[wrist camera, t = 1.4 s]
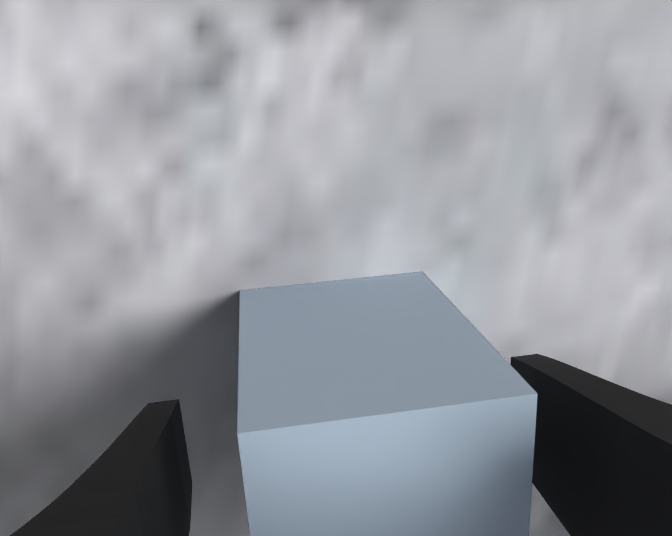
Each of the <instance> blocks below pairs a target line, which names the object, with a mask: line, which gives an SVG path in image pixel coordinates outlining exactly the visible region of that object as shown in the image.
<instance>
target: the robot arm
mask: <svg viewBox="0 0 672 536" xmlns="http://www.w3.org/2000/svg"><path fill="white" fill-rule="evenodd" d="M511 366H512V367H513V368H514V369H515V370H516V371H517V372H518V373H519V374H520V376H521V377H522V378H523V379H524V380H525V381H526V382H527V383H528V384H529V385H530V386H531V387H532V388H533V389H534V390H535V391H536V393H537V394H538V395H537V411H536V427H535V443H534V459H533V475H532V483H533V484H534V485H535V487H536V488H537V490H538V491H539V493H540V494H541V495H542V497H543V498H544V500H545V501H546V502H547V504H548V505H549V507H550V508H551V509H552V511H553V512H554V513H555V515H556V516H557V518H558V519H559V520H560V522H561V523H562V524H563V526H564V527H565V529H566V530H567V531H568V533H569V534H570V535H571V536H672V405H670V404H668V403H665V402H662V401H659V400H656V399H654V398H651V397H648V396H645V395H642V394H640V393H637V392H635V391H632V390H629V389H627V388H624V387H622V386H619V385H617V384H614V383H612V382H609V381H607V380H604V379H602V378H599V377H597V376H595V375H592V374H590V373H587V372H585V371H582V370H580V369H578V368H575V367H573V366H570V365H568V364H565V363H563V362H560V361H557V360H555V359H552V358H549V357H546V356H542V355H539V354H533V355H525V356H517V357H511ZM191 498H192V479H191V472H190V466H189V460H188V454H187V447H186V441H185V435H184V428H183V422H182V416H181V409H180V403H179V399H178V400H170V401H162V402H154V403H148V404H147V405H146V406H145V408H144V409H143V410H142V411H141V412H140V413H139V414H138V415H137V416H136V418H135V419H134V420H133V421H132V422H131V423H130V424H129V426H128V427H127V428H126V429H125V430H124V431H123V432H122V433H121V435H120V436H119V437H118V438H117V439H116V440H115V441H114V442H113V443H112V445H111V446H110V447H109V448H108V449H107V450H106V451H105V452H104V453H103V454H102V455H101V456H100V457H99V459H98V460H97V461H96V462H94V463H93V464H92V465H91V466H90V467H89V468H88V469H87V470H86V471H85V472H84V473H83V474H82V475H81V476H80V477H79V478H78V479H77V480H76V481H75V482H74V483H73V484H72V485H71V486H70V487H69V488H68V489H67V490H66V491H65V492H63V493H62V494H61V495H60V496H59V497H58V498H57V499H55V500H54V501H53V502H52V503H51V504H50V505H48V506H47V507H46V508H45V509H44V510H42V511H41V512H40V513H39V514H37V515H36V516H35V517H34V518H32V519H31V520H30V521H29V522H27V523H26V524H25V525H24V526H22V527H21V528H20V529H18V530H17V531H16V532H14V533H13V534H12V535H10V536H189V531H190V519H191Z"/></svg>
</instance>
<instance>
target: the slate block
mask: <svg viewBox="0 0 672 536" xmlns="http://www.w3.org/2000/svg"><path fill="white" fill-rule="evenodd" d="M537 395H538V394H537V393H536V391H535V390H534V389H533V388H532V387H531V386H530V385H529V384H528V383H527V382H526V381H525V380H524V379H523V378H522V377H521V376H520V374H519V373H518V372H517V371H516V370H515V369H514V368H513V367H512V366H511V365H510V364H509V363H508V362H507V361H506V360H505V358H504V357H503V356H502V355H501V354H500V353H499V352H498V351H497V350H496V349H495V348H494V347H493V346H492V345H491V344H490V343H489V341H488V340H487V339H486V338H485V337H484V336H483V335H482V334H481V333H480V332H479V331H478V330H477V329H476V328H475V327H474V326H473V324H472V323H471V322H470V321H469V320H468V319H467V318H466V317H465V316H464V315H463V314H462V313H461V312H460V311H459V310H458V309H457V307H456V306H455V305H454V304H453V303H452V302H451V301H450V300H449V299H448V298H447V297H446V296H445V295H444V294H443V293H442V291H441V290H440V289H439V288H438V287H437V286H436V285H435V284H434V283H433V282H432V281H431V280H430V279H429V278H428V277H427V276H426V274H425V273H424V272H413V273H403V274H394V275H384V276H374V277H365V278H355V279H345V280H335V281H326V282H316V283H306V284H297V285H287V286H277V287H267V288H258V289H248V290H240V310H239V363H238V416H237V436H238V444H239V452H240V460H241V468H242V476H243V484H244V492H245V500H246V508H247V516H248V524H249V532H250V536H529V523H530V507H531V491H532V475H533V459H534V443H535V427H536V411H537Z"/></svg>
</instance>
